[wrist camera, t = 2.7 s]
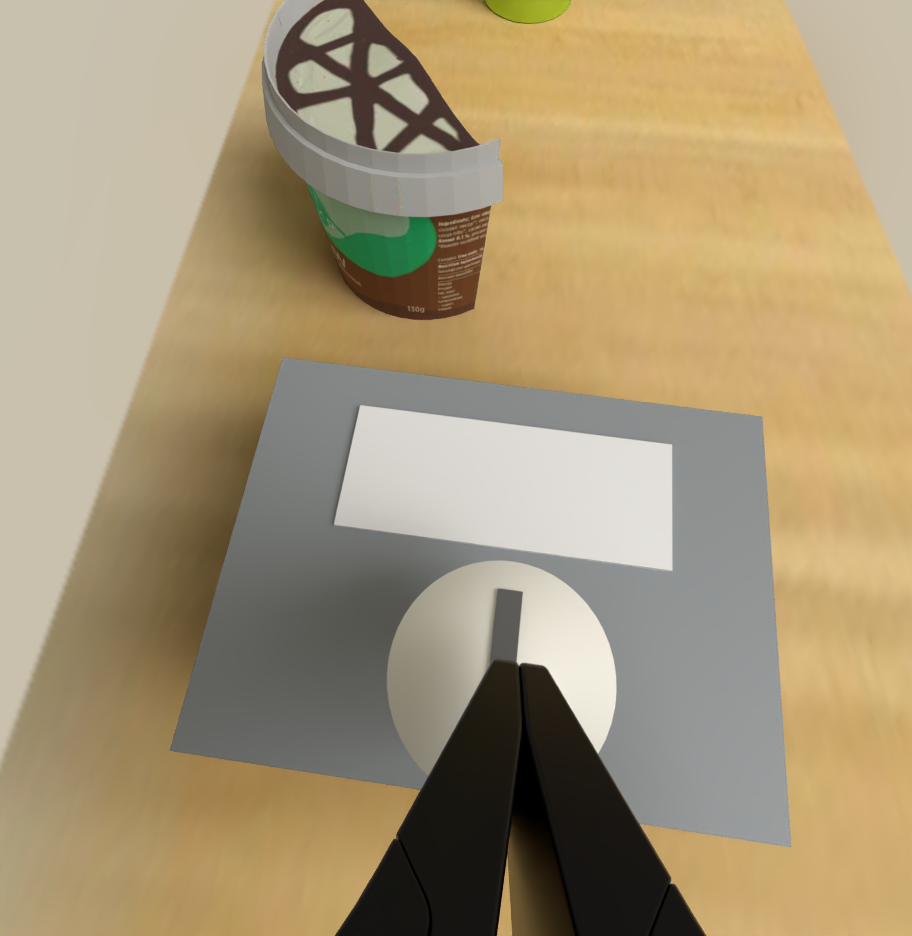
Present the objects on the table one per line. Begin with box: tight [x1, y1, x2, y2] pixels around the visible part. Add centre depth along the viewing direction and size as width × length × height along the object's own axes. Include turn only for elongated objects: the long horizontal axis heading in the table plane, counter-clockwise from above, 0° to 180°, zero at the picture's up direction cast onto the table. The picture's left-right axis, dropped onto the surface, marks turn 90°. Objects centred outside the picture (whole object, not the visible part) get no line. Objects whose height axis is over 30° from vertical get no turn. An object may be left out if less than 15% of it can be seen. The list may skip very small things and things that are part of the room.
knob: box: [387, 560, 617, 776], centre depth 13 cm, size 4×4×6 cm
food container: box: [262, 0, 503, 320], centre depth 24 cm, size 12×6×10 cm, turn 29°
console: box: [170, 358, 791, 847], centre depth 19 cm, size 12×16×7 cm
